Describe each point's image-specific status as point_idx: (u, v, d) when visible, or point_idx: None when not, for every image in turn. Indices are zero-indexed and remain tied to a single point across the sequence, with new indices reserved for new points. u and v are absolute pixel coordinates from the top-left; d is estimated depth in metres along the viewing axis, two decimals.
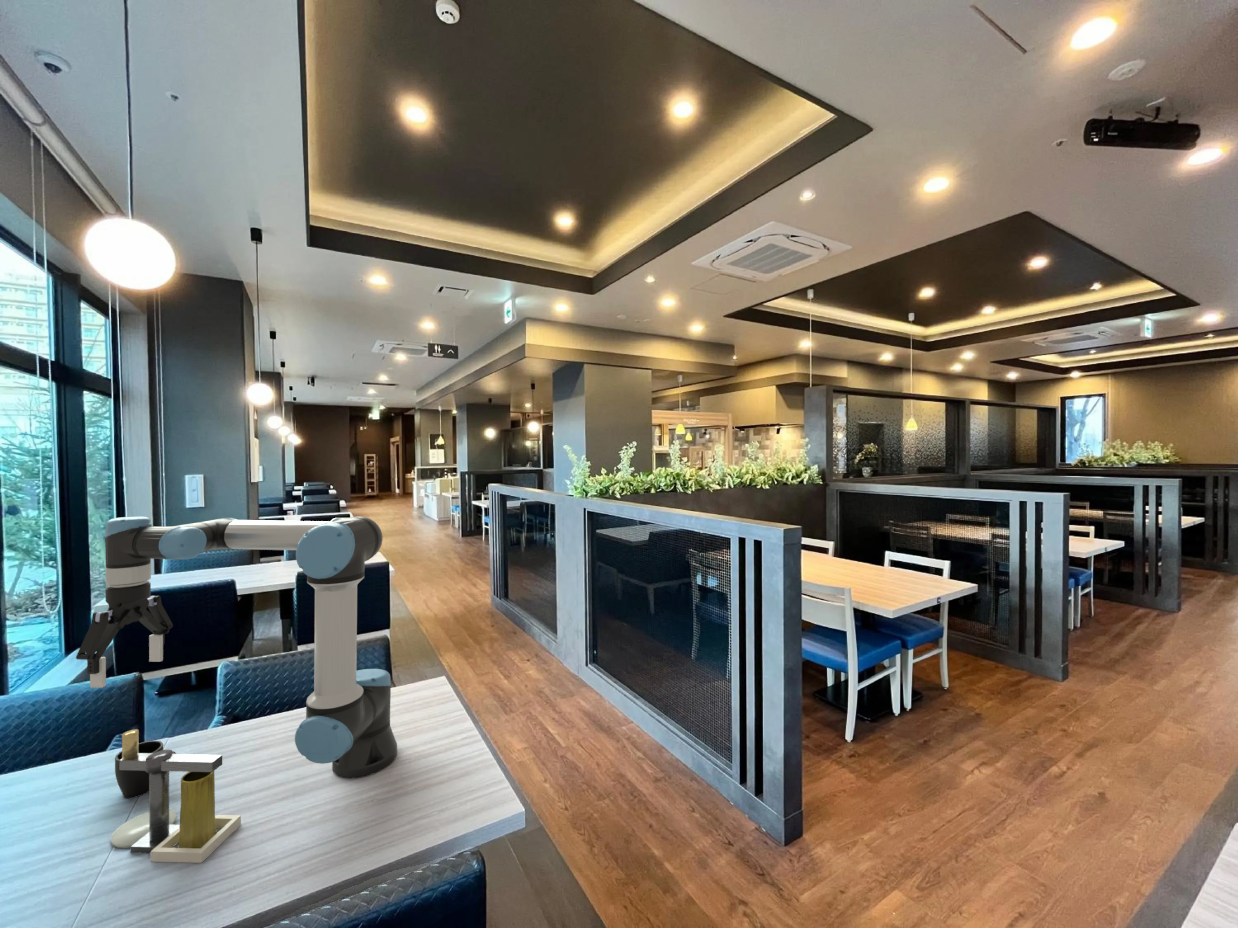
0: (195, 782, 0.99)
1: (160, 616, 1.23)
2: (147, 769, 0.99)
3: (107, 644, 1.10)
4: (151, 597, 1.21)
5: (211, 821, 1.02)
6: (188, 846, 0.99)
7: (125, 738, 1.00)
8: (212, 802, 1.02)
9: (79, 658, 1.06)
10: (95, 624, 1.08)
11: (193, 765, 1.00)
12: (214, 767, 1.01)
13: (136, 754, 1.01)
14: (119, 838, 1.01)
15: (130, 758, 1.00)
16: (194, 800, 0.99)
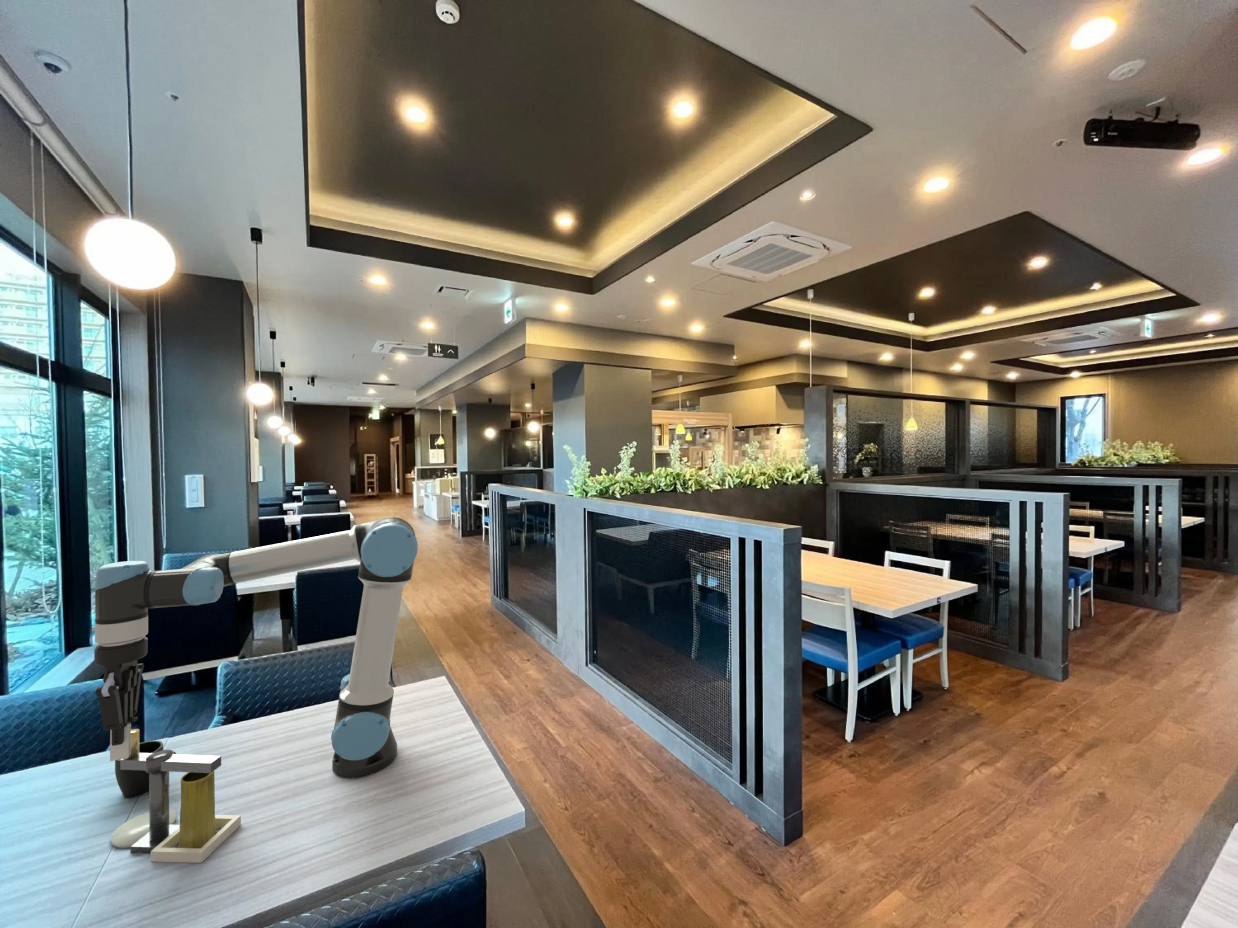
0: (195, 782, 0.99)
1: (132, 693, 1.02)
2: (147, 769, 1.00)
3: (126, 709, 0.98)
4: None
5: (211, 821, 1.02)
6: (188, 846, 0.99)
7: None
8: (212, 802, 1.02)
9: (108, 728, 0.95)
10: (106, 699, 0.94)
11: (191, 765, 1.00)
12: (213, 768, 1.00)
13: (137, 754, 1.02)
14: (119, 838, 1.01)
15: (131, 758, 1.01)
16: (194, 800, 0.99)
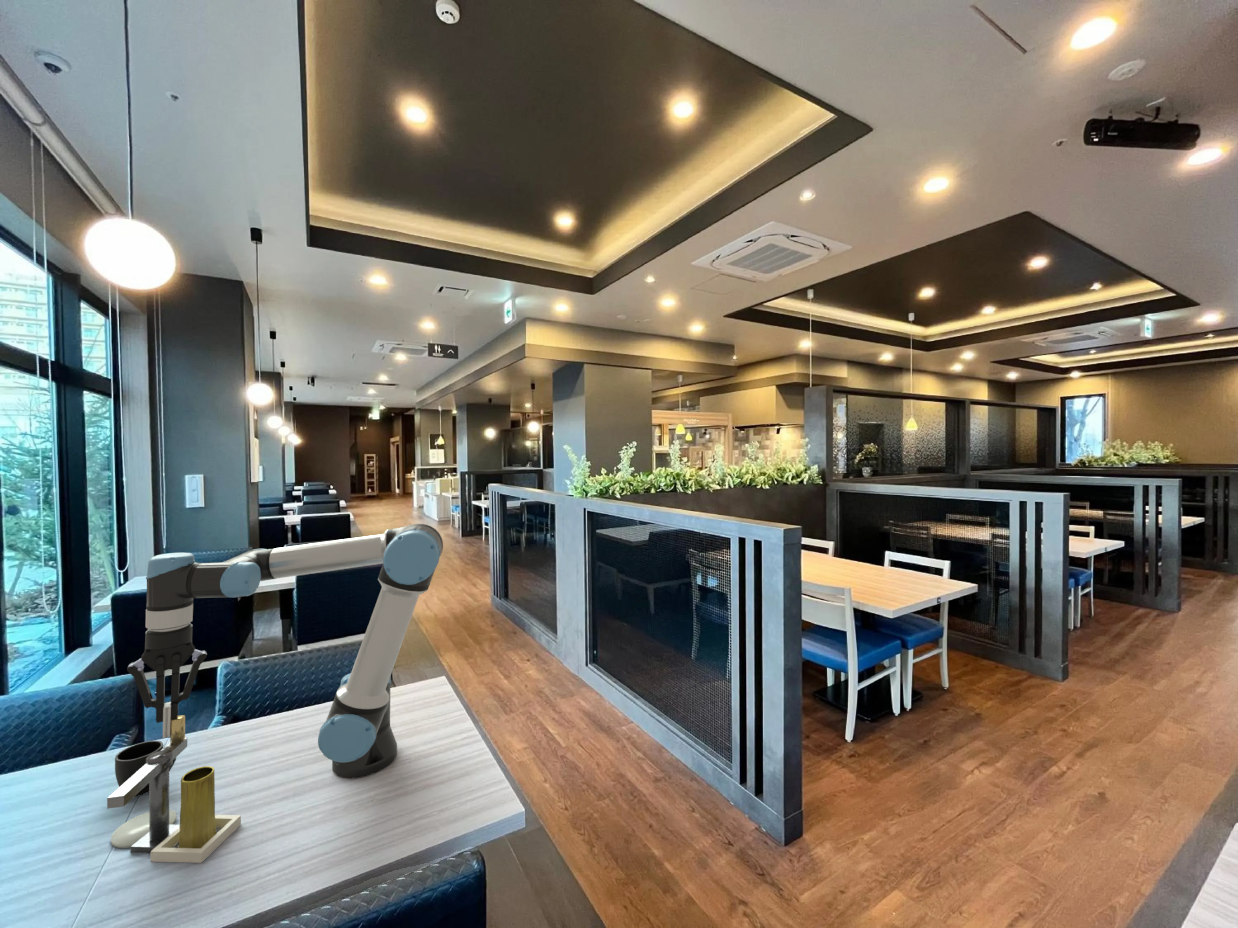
0: (195, 782, 0.99)
1: (188, 678, 1.08)
2: None
3: (160, 692, 1.05)
4: (202, 652, 1.10)
5: (211, 821, 1.02)
6: (188, 846, 0.99)
7: None
8: (212, 802, 1.02)
9: None
10: None
11: None
12: (111, 804, 0.90)
13: (174, 741, 1.06)
14: (119, 838, 1.01)
15: (170, 742, 1.06)
16: (194, 800, 0.99)
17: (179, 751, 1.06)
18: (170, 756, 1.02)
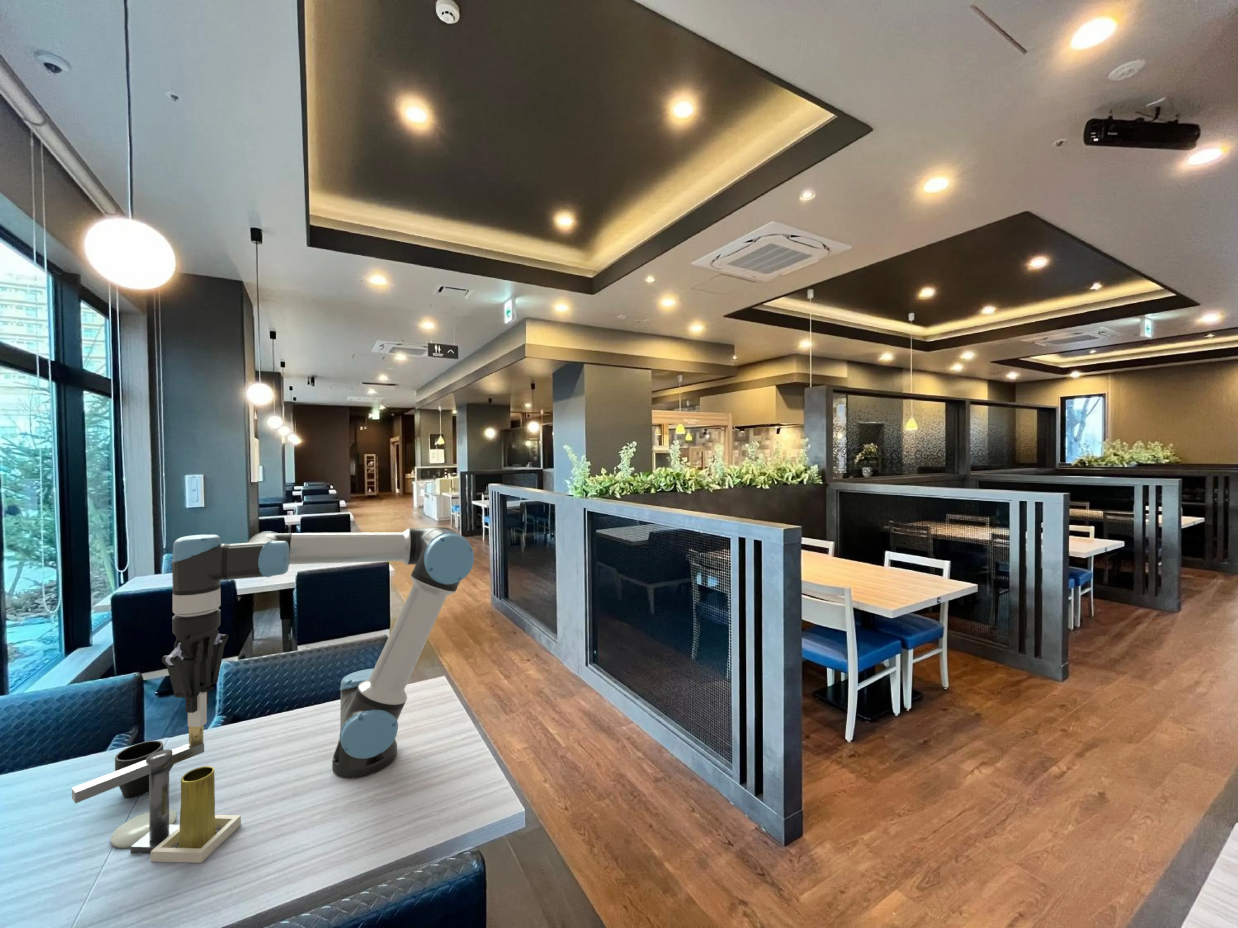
0: (195, 782, 0.99)
1: (214, 662, 1.05)
2: None
3: (197, 680, 1.00)
4: (220, 634, 1.07)
5: (211, 821, 1.02)
6: (188, 846, 0.99)
7: None
8: (212, 802, 1.02)
9: (178, 696, 0.98)
10: (172, 668, 0.96)
11: None
12: (72, 796, 0.92)
13: (189, 743, 1.05)
14: (119, 838, 1.01)
15: None
16: (194, 800, 0.99)
17: (187, 756, 1.04)
18: (161, 761, 1.00)
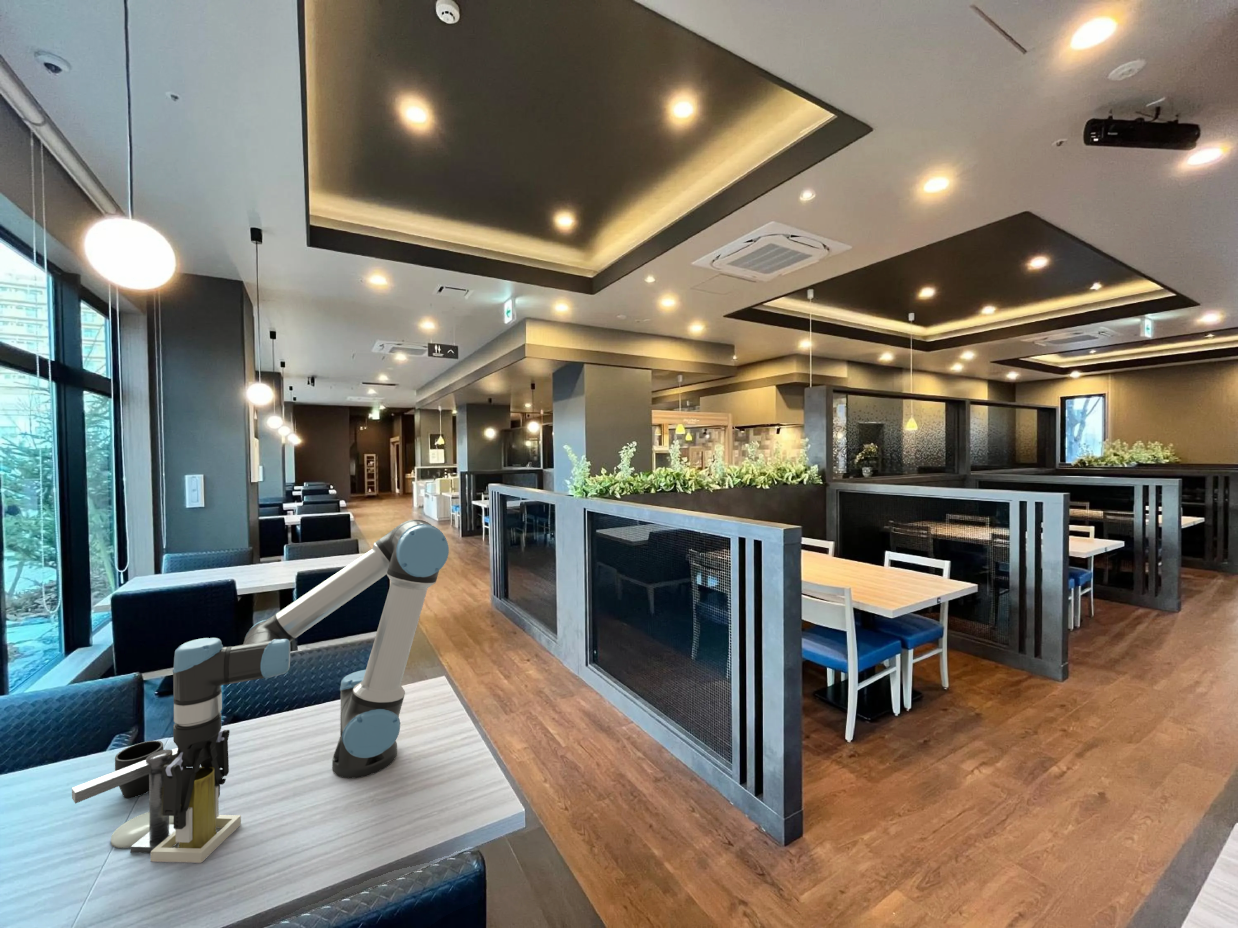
0: (195, 782, 0.99)
1: (221, 758, 1.06)
2: None
3: (189, 792, 0.98)
4: (220, 730, 1.07)
5: (211, 821, 1.02)
6: (188, 846, 0.99)
7: None
8: (212, 802, 1.02)
9: (166, 814, 0.95)
10: (169, 779, 0.95)
11: None
12: (72, 796, 0.92)
13: None
14: (119, 838, 1.01)
15: None
16: (195, 800, 0.99)
17: None
18: (161, 761, 1.00)
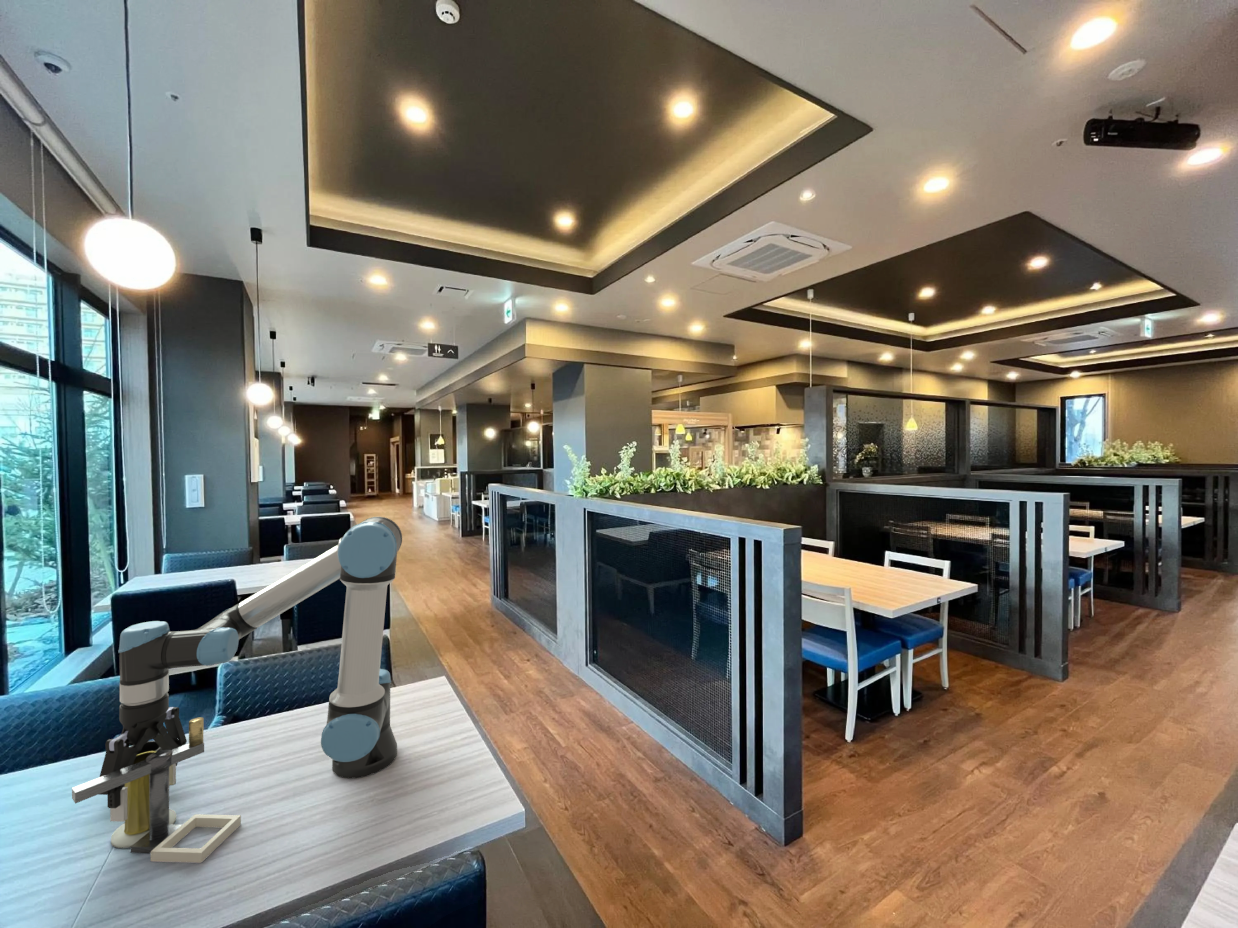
0: None
1: (175, 731, 1.11)
2: None
3: None
4: (169, 709, 1.10)
5: None
6: (133, 828, 1.02)
7: None
8: None
9: None
10: (110, 754, 0.98)
11: None
12: (72, 796, 0.92)
13: (189, 743, 1.05)
14: (119, 838, 1.01)
15: None
16: (138, 782, 1.02)
17: (187, 756, 1.04)
18: (161, 761, 1.00)
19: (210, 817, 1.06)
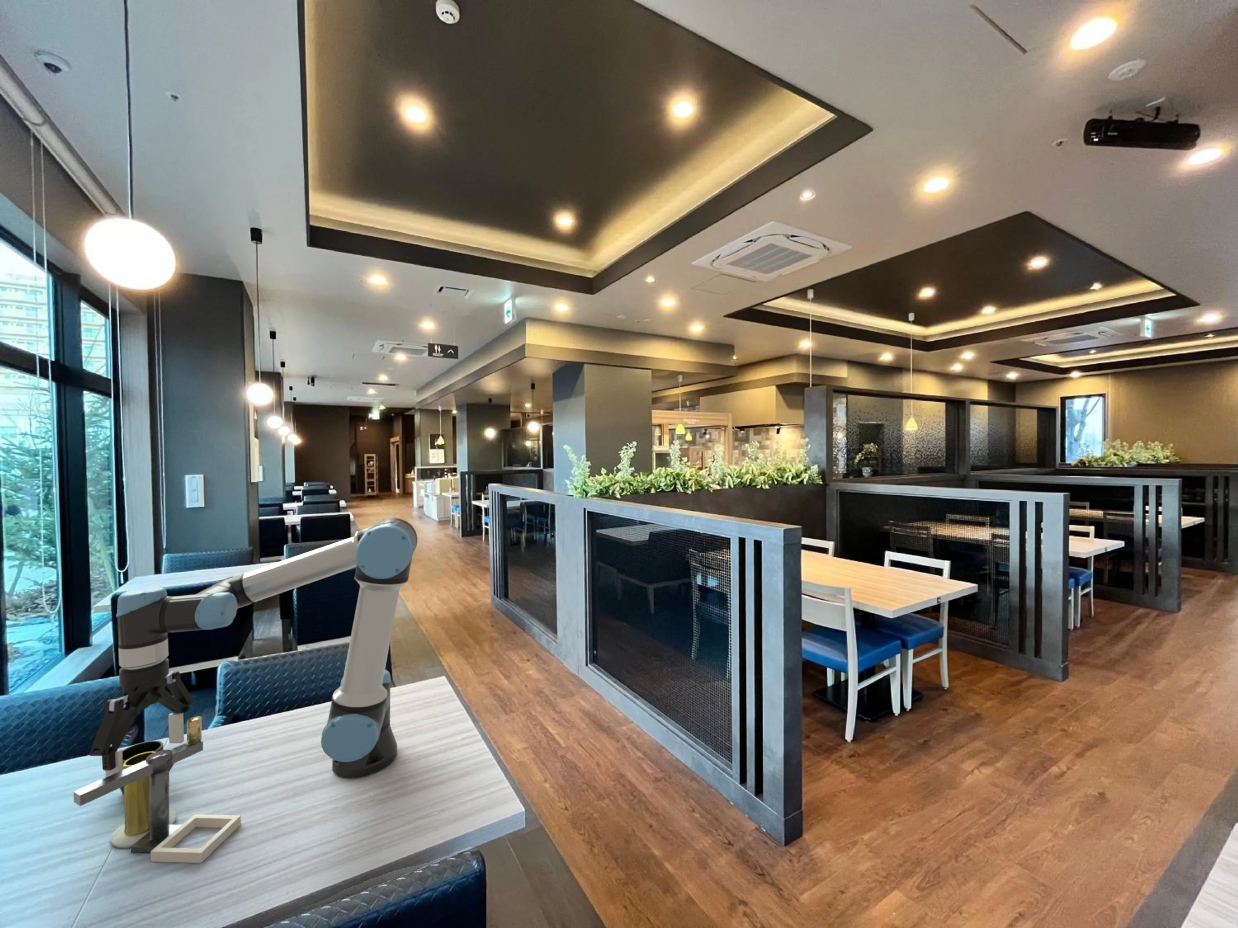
0: None
1: (179, 693, 1.12)
2: None
3: (123, 734, 0.98)
4: (169, 673, 1.10)
5: None
6: (133, 828, 1.02)
7: None
8: None
9: (93, 755, 0.94)
10: (109, 714, 0.97)
11: None
12: (75, 799, 0.91)
13: (187, 742, 1.06)
14: (119, 838, 1.01)
15: None
16: (137, 783, 1.02)
17: (187, 754, 1.05)
18: (163, 760, 1.00)
19: (210, 817, 1.06)
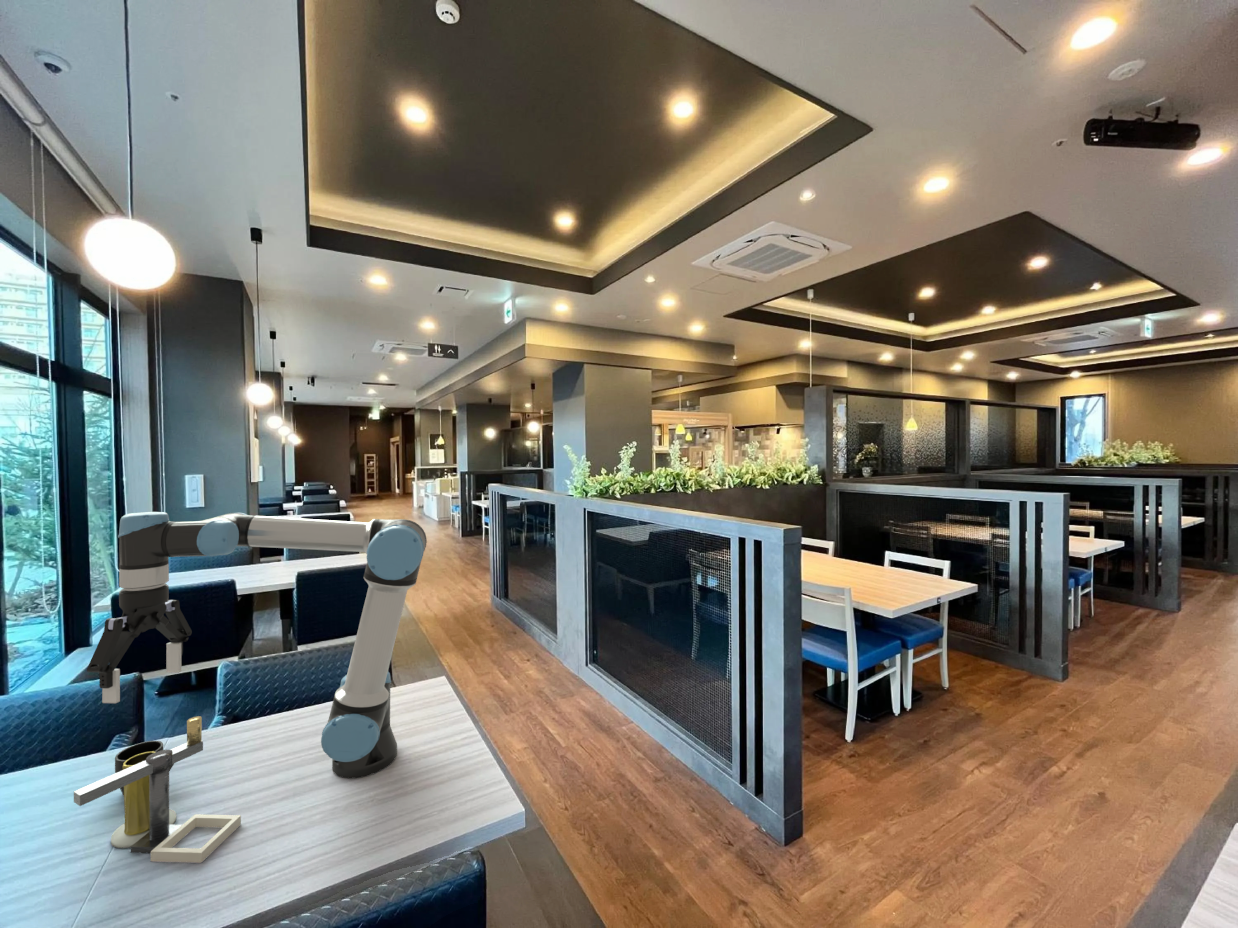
0: None
1: (178, 623, 1.11)
2: None
3: (121, 654, 0.98)
4: (169, 601, 1.09)
5: None
6: (133, 828, 1.02)
7: None
8: None
9: (90, 671, 0.94)
10: (108, 633, 0.97)
11: None
12: (75, 799, 0.91)
13: (187, 742, 1.06)
14: (119, 838, 1.01)
15: None
16: (137, 783, 1.02)
17: (187, 754, 1.05)
18: (163, 760, 1.00)
19: (210, 817, 1.06)
